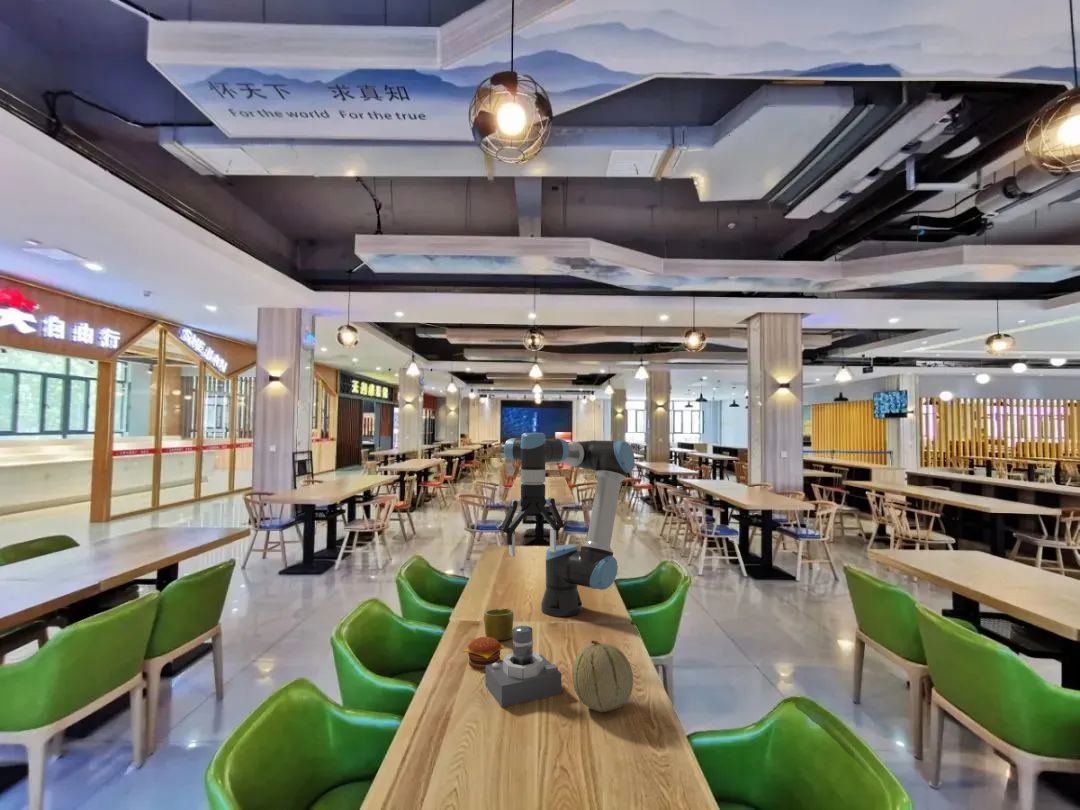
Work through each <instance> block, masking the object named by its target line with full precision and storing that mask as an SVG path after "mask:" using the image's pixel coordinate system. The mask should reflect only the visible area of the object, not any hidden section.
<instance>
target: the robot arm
mask: <svg viewBox="0 0 1080 810" xmlns="http://www.w3.org/2000/svg"><path fill="white" fill-rule="evenodd" d="M503 446H504V447H503V453H504V456H505V458H506V459H507V460H510V461H515V462H516V461H519V462H520V483H521V484H520V500H516V499H511V500H510V503H509V504H510V507H509V509H508V511H507V513H506V516H505V518H504V520H503V522H502V524H501V527H500V531H501V532H503V533H505V535H506V545H508V547H509V548H508V549H509V550H508V551H509V552H508V553H509V554H508V556H511V557H512V558H513V557H515V556H516V534H515V533H514V531H515V530H516V529H517V528H518V526H519V525H520V523H522V521H523V520H524V518H525V517H526V516H527V515H529V516H530V515H539V514H540V515H542V517H543V518H544V519H545V520H546V522H547V523H548V524H549V526H550V527H551V529H549V548H547V549H546V552H545V554H546V555H545V590H544V594H543V597H542V599H541V605H540V606H541V607H540V610H541V612H542V613H544V614H546V615H548V616H552V617H573V616H577V615H579V614H581V613H582V611H583V602H582V599H581V595H580V592H579V590H578V586H581V587H585V588H590V589H593V590H603V591H604V590H607V589H609V588H610V587H611V586H612V585H613V583H615V580H616V578H617V574H618V570H619V569H618V567H619V566H618V561H617V559H616V557H614V551H613V549H612V548H611V543H612V537H613V531H614V527H615V525H614V524H615V519H616V513H617V507H618V501H619V494H620V489H621V484H622V482H624V481H625V480H626V479H627V474H628V473H631V472H632V471H633V470H634V468H635V462H636V461H635V453H634V451H633V447H632V445H630V443H628V442H627V441H626V440H625V441H624V440H617V439H616V440H596V439H595V440H594V439H593V440H583V441H570V442H567V440H565V439H563V438H558V437H556V438H546V434H545V433H544V432H524V433H522V434H521V437H513V438H512V437H511V438H509V439H507V440H506V441H505V443H504V445H503ZM546 463H551V464H554V463H555V464H566V465H567V466H569V467H575V468H580V469H585V470H588V471H589V470H590V471H594V474H595V475H596V477H597V482H596V489H595V493H594V498H593V504H592V509H591V510H592V511H591V514H590V521H589V527H588V533H587V537H586V542H584V543H583V544H582V545H581V546H580V550H579V548H578V546H577V544H576V545H575V544H561V545H557V541H559V531H561V529H563V528H565V524H564V521H563V519H562V517H561V515H560V513H559V511H558V508H557V506H556V499H555V498H553V497H548V498H546V484H545V483H546ZM546 505H547V506H548V507H549V510H550V512H551V514H552V517H553V518H554V519H553V518H552V517H551V515H550V514H549V513H548V511H547V510H546V508H545V506H546ZM519 507H521V508H520V510H519V511H518V513H517V515H516V512H517V509H518V508H519ZM515 515H516V516H515Z"/></svg>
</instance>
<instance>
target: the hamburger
mask: <svg viewBox="0 0 1080 810" xmlns="http://www.w3.org/2000/svg"><path fill="white" fill-rule="evenodd" d="M504 649H506V647H505V645H503V644H501V642H500V641H497V640H496V639H495V638H491V637H486V636H480V637H477V638H474V639H473V640H471V641H470V643H469V644H468V646H467V648H466V649H464V650H462V653H468V665H469V666H470V667H471V668H473V669H478V670H486V665H491V664H493V663H501V657H500V655H501V650H504Z"/></svg>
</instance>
